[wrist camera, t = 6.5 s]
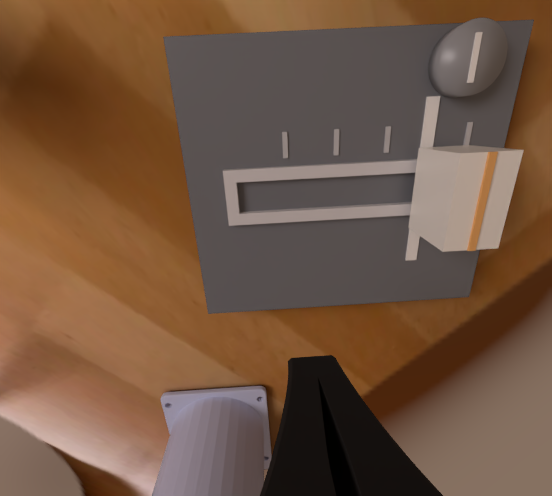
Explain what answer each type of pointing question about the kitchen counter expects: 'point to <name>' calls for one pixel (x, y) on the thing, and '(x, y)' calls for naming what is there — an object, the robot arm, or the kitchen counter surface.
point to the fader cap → (463, 195)
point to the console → (332, 154)
